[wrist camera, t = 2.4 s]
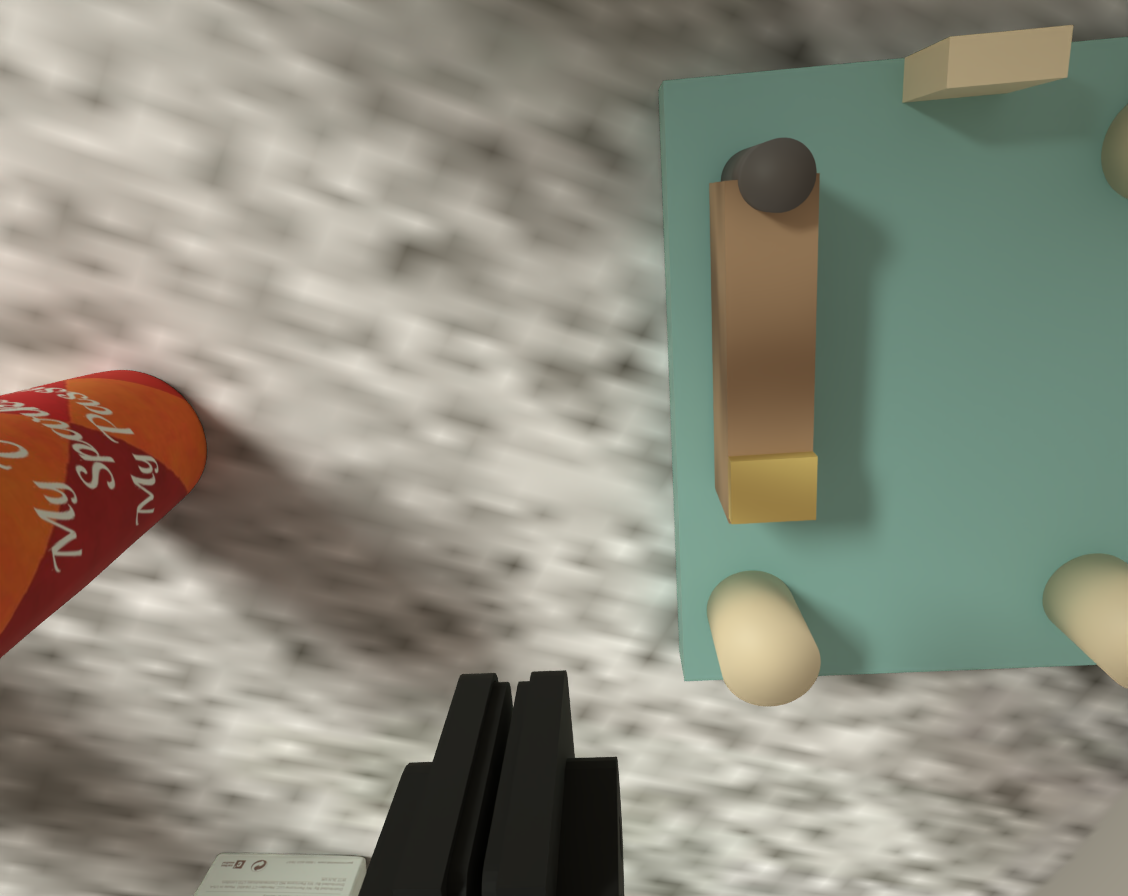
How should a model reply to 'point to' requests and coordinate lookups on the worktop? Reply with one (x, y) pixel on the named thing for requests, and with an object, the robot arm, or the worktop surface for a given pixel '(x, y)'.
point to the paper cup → (85, 483)
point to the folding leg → (765, 332)
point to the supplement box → (283, 875)
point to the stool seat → (921, 367)
